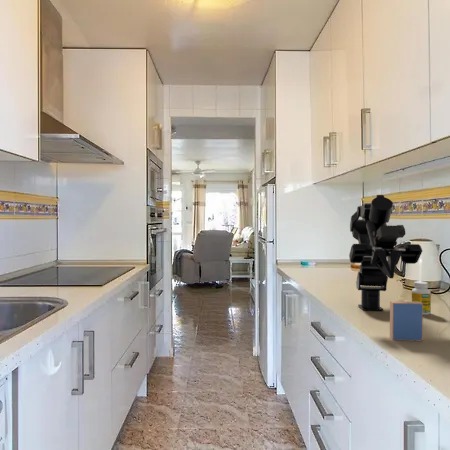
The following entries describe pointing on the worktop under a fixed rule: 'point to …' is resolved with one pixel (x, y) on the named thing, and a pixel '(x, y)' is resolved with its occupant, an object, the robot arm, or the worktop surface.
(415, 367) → the worktop surface
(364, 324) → the worktop surface
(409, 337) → the block
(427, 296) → the supplement bottle
